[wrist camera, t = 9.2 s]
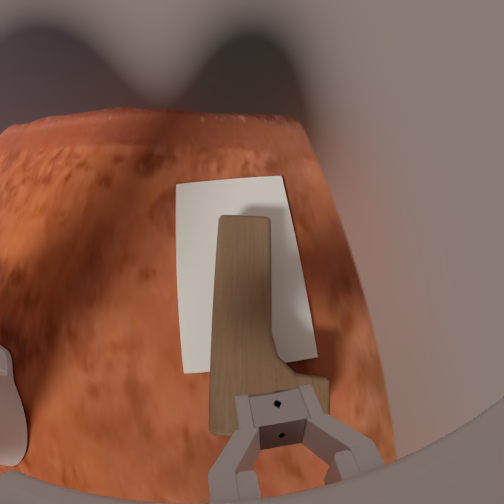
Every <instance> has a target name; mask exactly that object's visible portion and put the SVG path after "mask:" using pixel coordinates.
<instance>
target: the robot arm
mask: <svg viewBox="0 0 504 504" xmlns="http://www.w3.org/2000/svg"><path fill="white" fill-rule="evenodd" d="M235 404H236V411H237V418H238V425H239V430H235V432H234V433H233V435H232V437H231V438H230V440H229V441H228V443H227V445H226V446H225V448H224V449H223V451H222V452H221V454H220V456H219V457H218V459H217V460H216V462H215V463H214V465H213V466H212V468H211V469H210V471H209V472H208V480H209V494H210V503H160V502H146V501H136V500H128V499H120V498H114V497H108V496H102V495H97V494H92V493H87V492H83V491H78V490H74V489H70V488H66V487H63V486H59V485H56V484H52V483H49V482H46V481H43V480H40V479H37V478H34V477H31V476H28V475H26V474H23V473H21V472H18V471H15V470H8V471H6V472H4V473H2V474H0V504H504V396H503V397H502V398H501V399H500V400H498V401H497V402H496V403H495V404H493V405H492V406H490V407H489V408H488V409H486V410H485V411H484V412H482V413H481V414H479V415H478V416H476V417H475V418H473V419H472V420H470V421H469V422H467V423H465V424H464V425H462V426H461V427H459V428H457V429H456V430H454V431H453V432H451V433H449V434H447V435H446V436H444V437H442V438H440V439H439V440H437V441H435V442H433V443H431V444H429V445H427V446H425V447H424V448H422V449H419V450H417V451H416V452H413V453H411V454H409V455H407V456H405V457H403V458H401V459H398V460H396V461H394V462H391V463H389V464H386V465H385V464H384V462H383V460H382V458H381V456H380V454H379V452H378V450H377V448H376V446H375V444H374V442H373V440H371V439H369V438H367V437H366V436H364V435H362V434H360V433H359V432H357V431H355V430H354V429H352V428H350V427H349V426H347V425H345V424H344V423H342V422H340V421H339V420H337V419H335V418H334V417H332V416H330V415H329V414H325V415H324V413H323V410H322V408H321V406H320V403H319V401H318V399H317V396H316V394H315V391H314V389H313V387H312V386H311V385H306V386H300V387H294V388H289V389H283V390H278V391H273V392H267V393H259V394H250V395H241V396H235ZM298 443H302V444H304V445H305V446H306V447H307V448H308V449H310V450H311V451H312V452H313V453H314V454H316V455H317V456H318V457H319V458H321V459H322V460H323V461H324V462H326V463H327V464H328V465H329V466H330V467H329V469H328V472H327V474H326V476H325V478H324V482H325V485H324V486H321V487H317V488H313V489H309V490H304V491H300V492H295V493H290V494H285V495H279V496H274V497H267V498H261V494H260V489H259V485H258V480H257V475H256V472H254V471H252V468H253V466H254V464H255V462H256V459H257V457H258V455H259V453H260V450H264V449H270V448H275V447H280V446H286V445H292V444H298ZM26 447H27V425H26V418H25V413H24V409H23V406H22V402H21V399H20V396H19V394H18V391H17V388H16V386H15V383H14V379H13V367H12V359H11V355H10V353H9V351H8V350H7V349H5V348H4V347H2V346H1V345H0V465H5V466H13V465H16V464H18V463H19V462H20V461H21V460H22V459H23V457H24V455H25V452H26Z"/></svg>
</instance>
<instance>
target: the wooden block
mask: <svg viewBox="0 0 504 504" xmlns="http://www.w3.org/2000/svg"><path fill="white" fill-rule="evenodd" d="M306 385H311V386H312V387H313V389H314V391H315V394H316V396H317V399H318V401H319V403H320V406H321V408H322V410H323V413H324V415H325V414H329V415H330V381H329V378H327V377H325V376H318V375H310V374H303V373H296V372H294V371H293V370H292V369H291V368H290V367H289V366H288V365H287V364H286V363H285V362H284V361H283V360H282V359H281V358H280V357H279V356H278V354H277V350H276V346H275V343H274V339H273V335H272V282H271V221H270V219H269V217H266V216H243V215H221V216H220V218H219V221H218V234H217V247H216V261H215V277H214V293H213V311H212V332H211V357H210V390H209V431H210V433H211V434H213V435H227V436H232V435H233V433H234V432H235V430H239V425H238V418H237V411H236V404H235V396H241V395H250V394H259V393H267V392H273V391H278V390H283V389H289V388H294V387H300V386H306Z"/></svg>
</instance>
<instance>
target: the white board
mask: <svg viewBox="0 0 504 504" xmlns="http://www.w3.org/2000/svg"><path fill="white" fill-rule="evenodd" d="M221 215H243V216H266V217H269V219H270V221H271V282H272V335H273V339H274V343H275V346H276V350H277V354H278V356H279V357H280V358H281V359H282V360H283V361H284V362H285V363H287V362H293V361H299V360H305V359H310V358H316V357H318V355H317V349H316V343H315V337H314V331H313V325H312V319H311V314H310V308H309V303H308V297H307V292H306V287H305V282H304V277H303V271H302V266H301V261H300V257H299V252H298V247H297V242H296V237H295V233H294V228H293V223H292V219H291V214H290V210H289V205H288V201H287V197H286V192H285V188H284V184H283V180H282V176H267V177H250V178H236V179H224V180H212V181H202V182H192V183H183V184H176V265H177V290H178V308H179V323H180V337H181V348H182V359H183V369H184V373H200V372H210V357H211V332H212V311H213V293H214V277H215V261H216V247H217V234H218V221H219V218H220V216H221Z"/></svg>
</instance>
